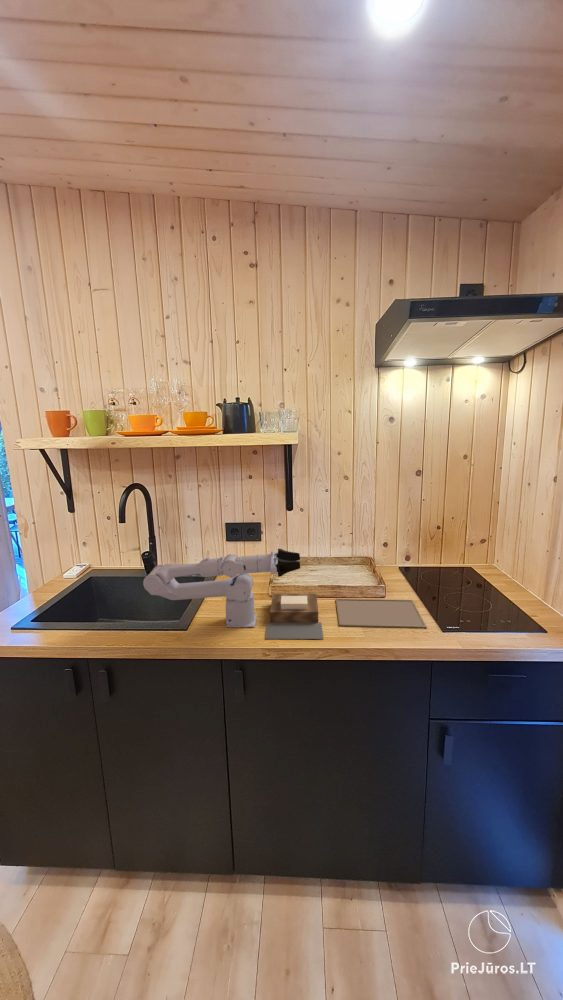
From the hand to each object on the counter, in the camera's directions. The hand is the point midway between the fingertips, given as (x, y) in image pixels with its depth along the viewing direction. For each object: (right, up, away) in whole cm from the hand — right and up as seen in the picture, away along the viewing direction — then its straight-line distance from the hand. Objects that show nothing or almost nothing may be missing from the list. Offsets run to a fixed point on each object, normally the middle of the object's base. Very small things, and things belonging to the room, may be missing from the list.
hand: (300, 560), depth 131 cm
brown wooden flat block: (-1, -20, +10) cm, 23 cm away
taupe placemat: (+28, -20, +9) cm, 35 cm away
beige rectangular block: (-2, -16, +8) cm, 18 cm away
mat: (-2, -22, -1) cm, 23 cm away
